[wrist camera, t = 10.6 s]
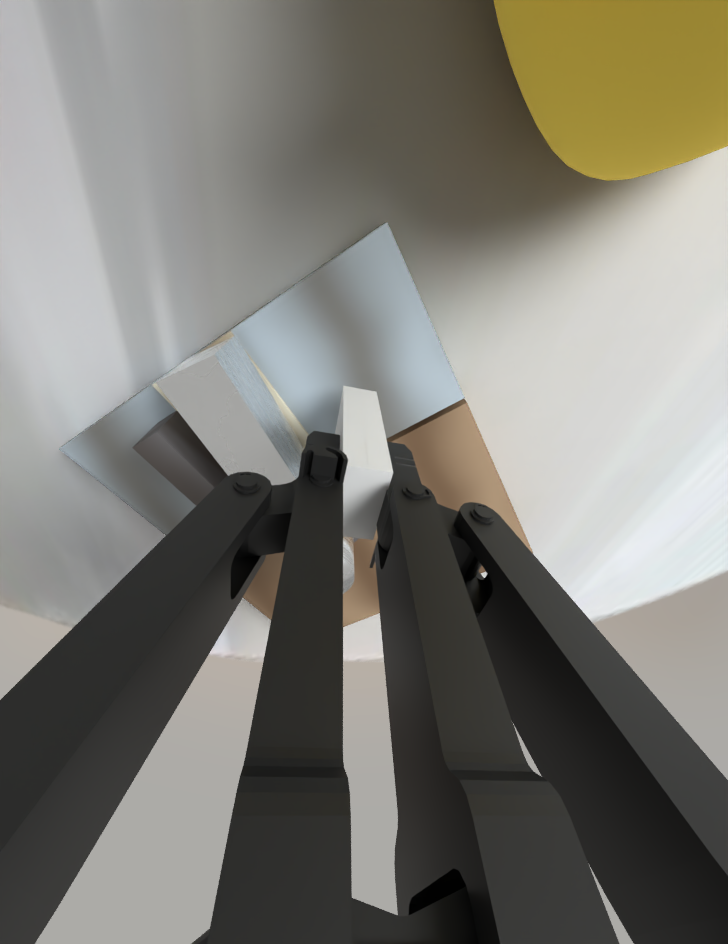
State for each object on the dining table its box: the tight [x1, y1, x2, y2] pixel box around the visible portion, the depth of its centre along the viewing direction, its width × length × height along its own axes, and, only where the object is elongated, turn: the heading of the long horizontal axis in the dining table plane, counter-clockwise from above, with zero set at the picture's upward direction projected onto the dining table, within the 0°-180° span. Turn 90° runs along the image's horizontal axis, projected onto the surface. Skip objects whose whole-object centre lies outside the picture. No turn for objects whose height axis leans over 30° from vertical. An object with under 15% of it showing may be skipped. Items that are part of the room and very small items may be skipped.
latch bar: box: [156, 335, 354, 593], centre depth 17 cm, size 13×3×4 cm, turn 23°
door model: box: [59, 222, 533, 627], centre depth 21 cm, size 19×21×4 cm
